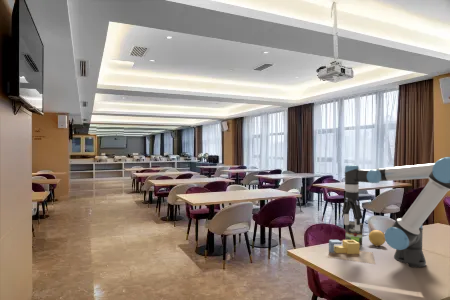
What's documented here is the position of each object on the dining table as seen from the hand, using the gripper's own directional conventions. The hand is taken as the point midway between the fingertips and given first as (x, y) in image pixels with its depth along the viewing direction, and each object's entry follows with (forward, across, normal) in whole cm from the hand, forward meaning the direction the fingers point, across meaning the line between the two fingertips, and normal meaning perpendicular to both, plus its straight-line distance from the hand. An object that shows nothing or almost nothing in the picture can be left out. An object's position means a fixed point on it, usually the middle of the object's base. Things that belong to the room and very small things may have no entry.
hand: (351, 227), depth 182 cm
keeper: (+14, +1, +10) cm, 18 cm away
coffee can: (+16, +19, -10) cm, 27 cm away
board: (+16, -5, +3) cm, 17 cm away
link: (+14, +1, +3) cm, 15 cm away
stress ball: (+16, +16, -25) cm, 34 cm away
